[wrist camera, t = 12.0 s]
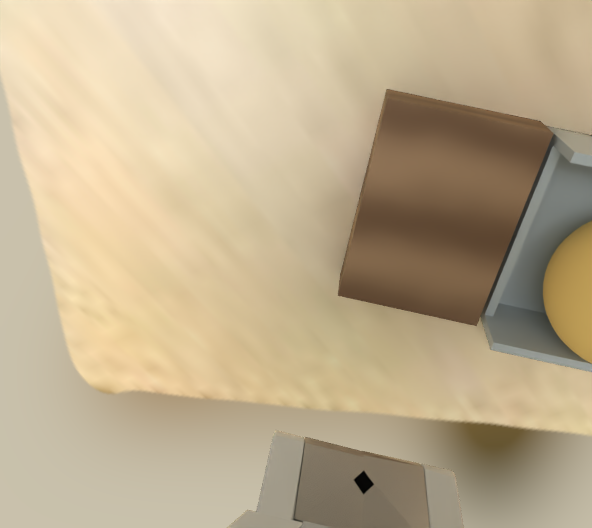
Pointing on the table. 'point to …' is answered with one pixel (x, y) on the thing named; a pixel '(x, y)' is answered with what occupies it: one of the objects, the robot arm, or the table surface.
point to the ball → (571, 291)
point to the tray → (541, 254)
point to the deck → (439, 205)
